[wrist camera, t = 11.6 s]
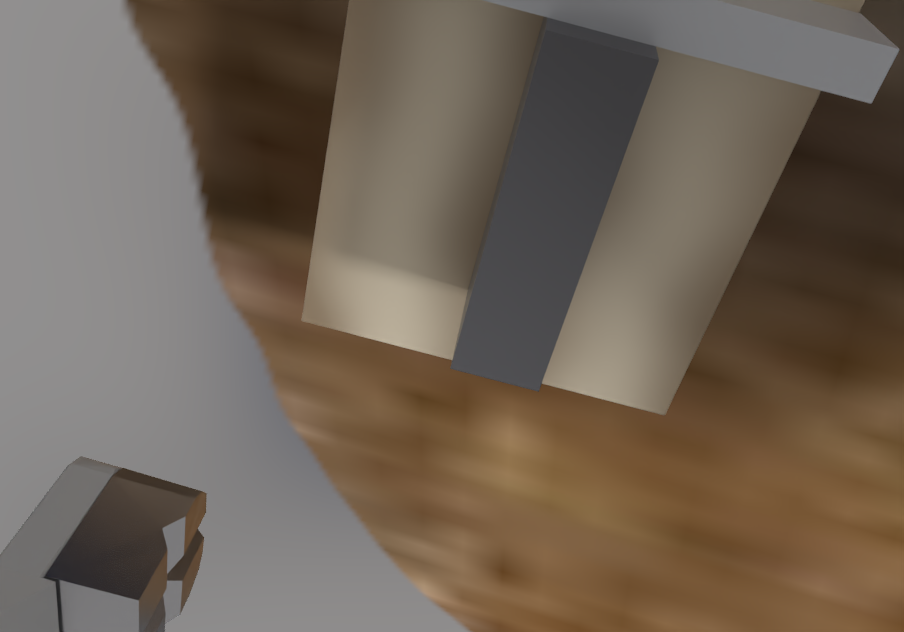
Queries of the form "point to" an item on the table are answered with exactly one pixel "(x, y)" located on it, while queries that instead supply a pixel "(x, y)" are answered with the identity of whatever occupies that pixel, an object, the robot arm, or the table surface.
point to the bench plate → (477, 173)
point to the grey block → (618, 142)
